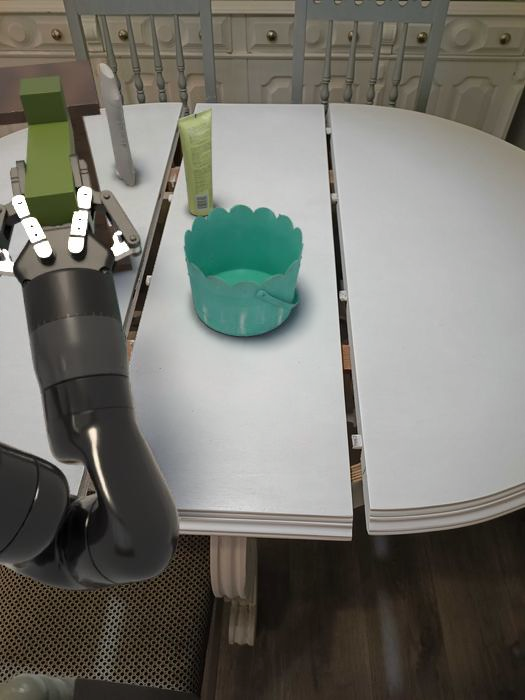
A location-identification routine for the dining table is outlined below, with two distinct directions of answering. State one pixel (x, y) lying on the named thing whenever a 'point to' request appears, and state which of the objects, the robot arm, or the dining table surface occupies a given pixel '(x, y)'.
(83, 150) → the brown wooden podium
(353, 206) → the dining table surface
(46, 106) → the green l-shaped block
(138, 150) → the dining table surface
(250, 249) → the bucket
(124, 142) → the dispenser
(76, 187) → the robot arm
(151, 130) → the dining table surface
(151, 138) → the dining table surface
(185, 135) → the tube
